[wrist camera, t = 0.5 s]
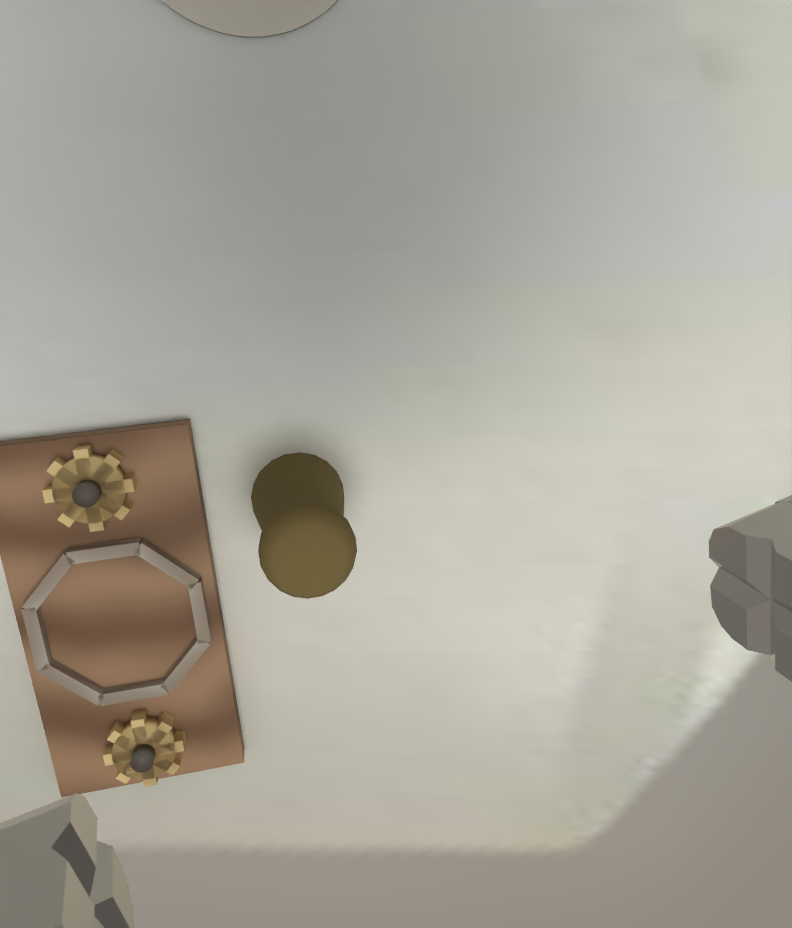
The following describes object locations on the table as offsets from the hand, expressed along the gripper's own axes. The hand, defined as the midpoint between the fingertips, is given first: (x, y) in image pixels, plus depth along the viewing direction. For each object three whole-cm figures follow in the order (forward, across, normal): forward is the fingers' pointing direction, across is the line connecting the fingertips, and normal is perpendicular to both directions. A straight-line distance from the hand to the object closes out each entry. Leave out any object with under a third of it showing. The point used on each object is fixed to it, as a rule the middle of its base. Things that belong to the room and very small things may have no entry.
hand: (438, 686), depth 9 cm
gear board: (+38, +10, +18) cm, 43 cm away
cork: (+37, -3, +14) cm, 40 cm away
